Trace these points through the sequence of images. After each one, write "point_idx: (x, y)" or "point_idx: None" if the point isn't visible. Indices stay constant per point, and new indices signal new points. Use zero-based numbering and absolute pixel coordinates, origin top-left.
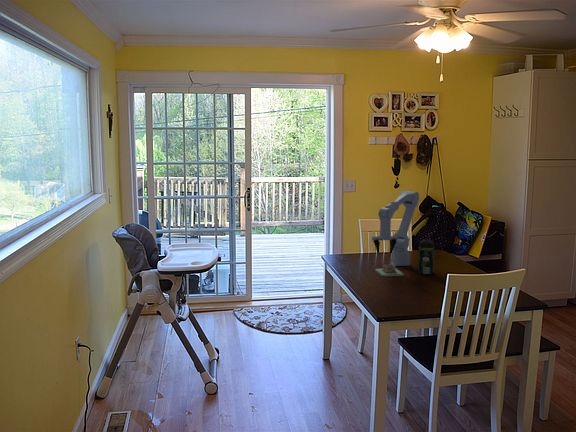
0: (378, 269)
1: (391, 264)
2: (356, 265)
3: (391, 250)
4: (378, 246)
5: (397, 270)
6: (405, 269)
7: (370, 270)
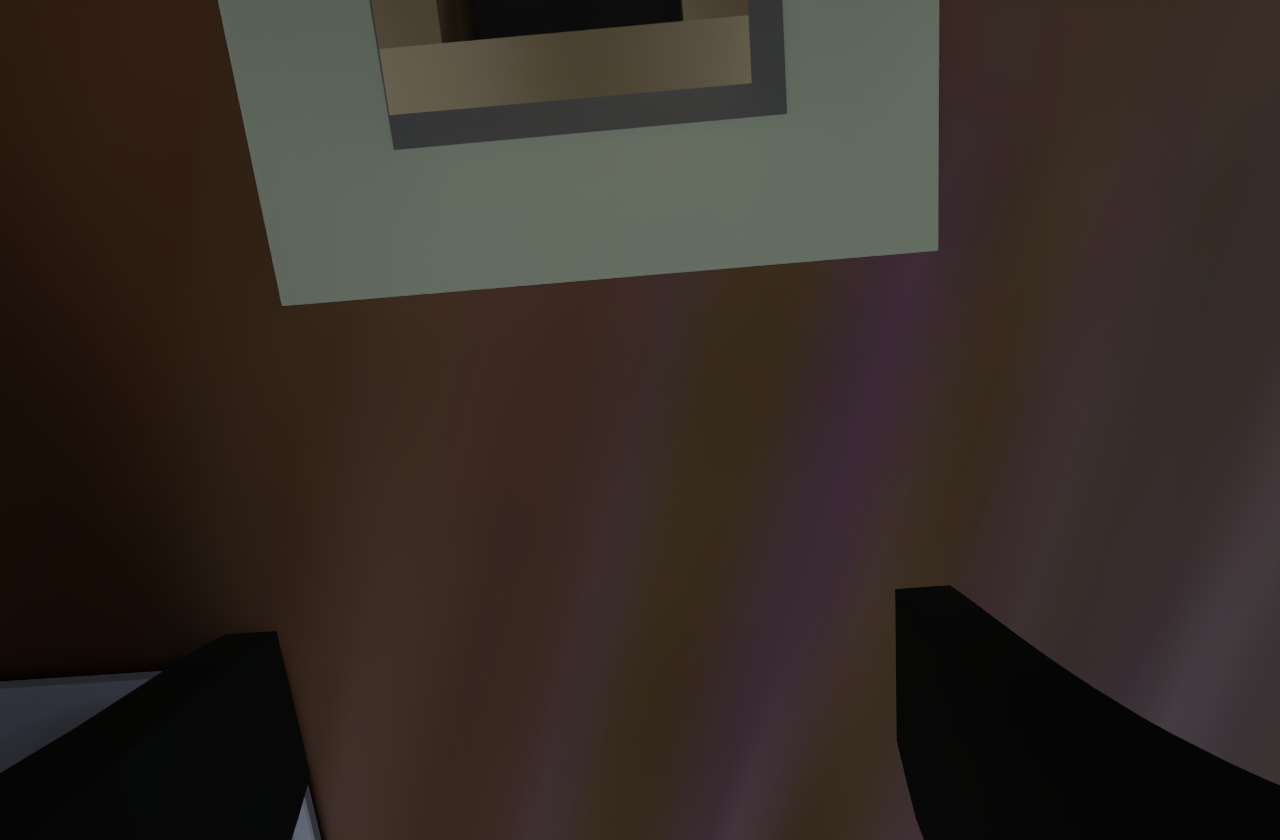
0: (859, 184)
1: (427, 95)
2: None
3: (205, 679)
4: (1116, 771)
5: (273, 32)
6: (17, 347)
7: (1056, 281)
